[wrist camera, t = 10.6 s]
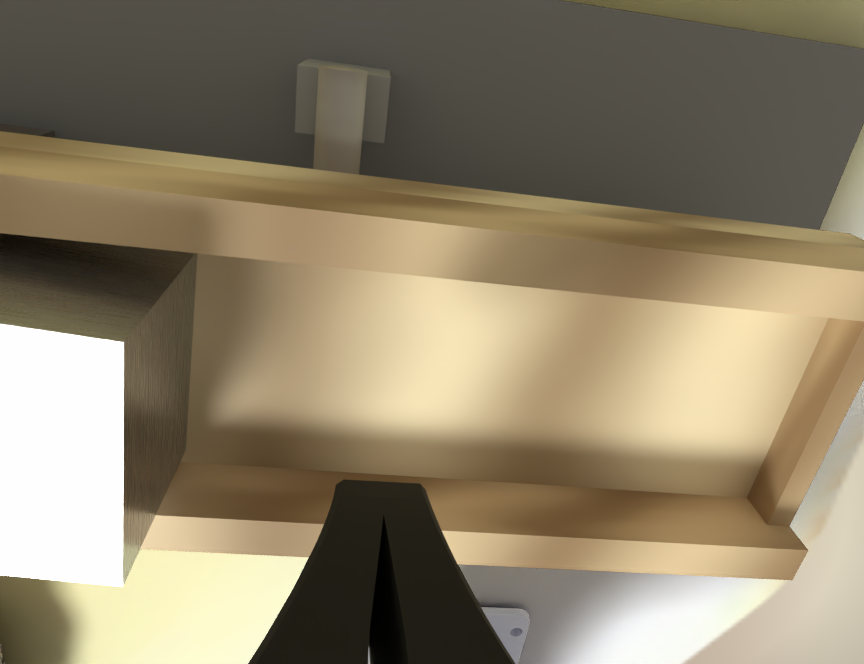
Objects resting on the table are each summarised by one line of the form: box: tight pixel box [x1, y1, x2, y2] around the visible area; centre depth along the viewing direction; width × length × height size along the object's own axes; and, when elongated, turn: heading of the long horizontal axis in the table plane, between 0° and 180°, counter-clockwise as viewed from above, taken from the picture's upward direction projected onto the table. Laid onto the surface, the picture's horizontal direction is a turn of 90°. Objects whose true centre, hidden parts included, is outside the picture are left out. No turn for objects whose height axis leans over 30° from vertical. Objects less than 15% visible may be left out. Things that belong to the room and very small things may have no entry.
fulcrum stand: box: [0, 0, 864, 230], centre depth 18 cm, size 28×16×3 cm, turn 82°
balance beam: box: [0, 65, 864, 580], centre depth 15 cm, size 24×12×6 cm, turn 82°
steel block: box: [0, 233, 197, 587], centre depth 12 cm, size 5×5×4 cm
